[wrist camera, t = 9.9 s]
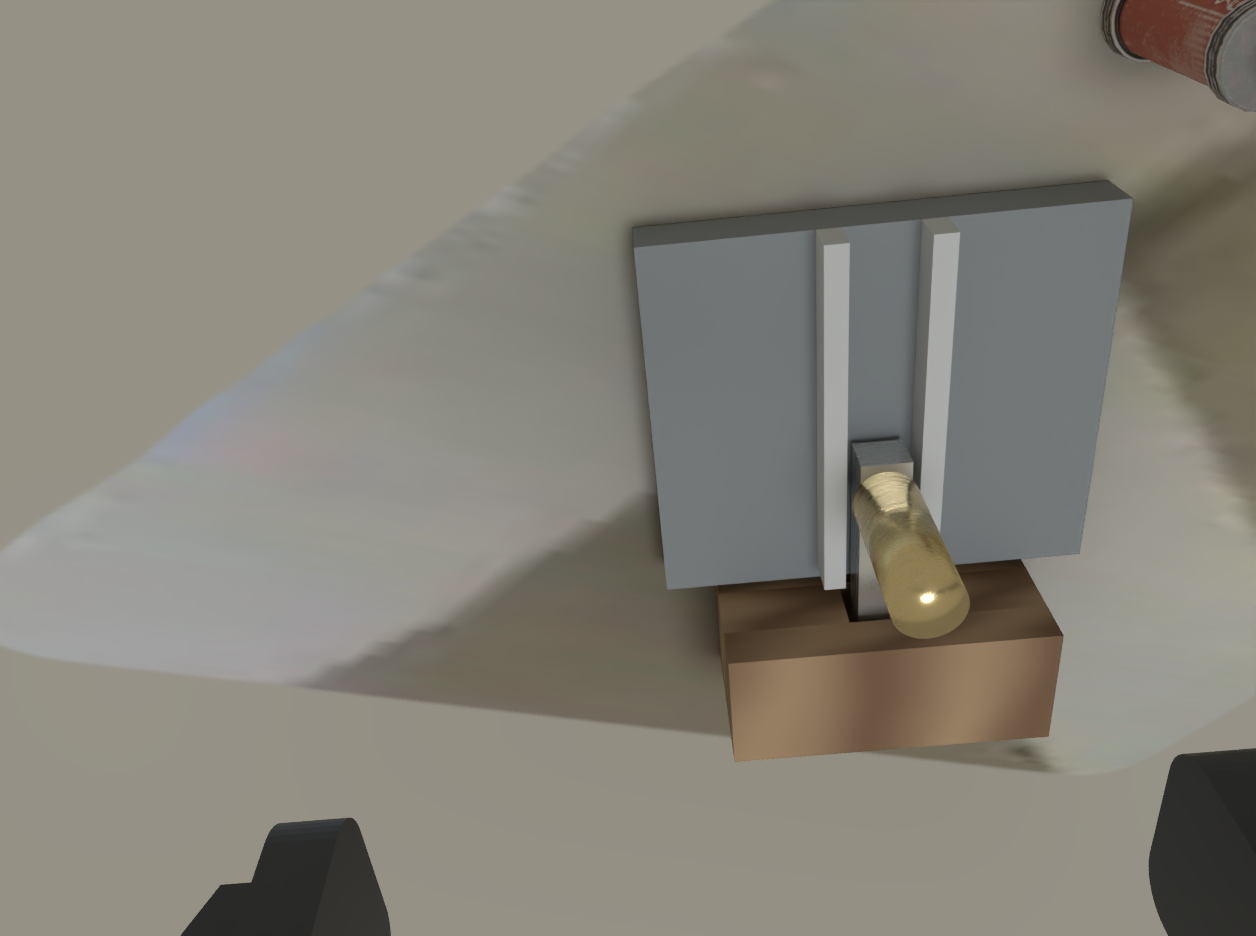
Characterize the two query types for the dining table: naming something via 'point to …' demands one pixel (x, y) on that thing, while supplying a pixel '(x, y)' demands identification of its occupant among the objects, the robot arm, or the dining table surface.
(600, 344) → the dining table surface
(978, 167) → the dining table surface
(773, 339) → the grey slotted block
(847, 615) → the jamb keeper
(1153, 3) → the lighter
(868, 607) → the bolt
